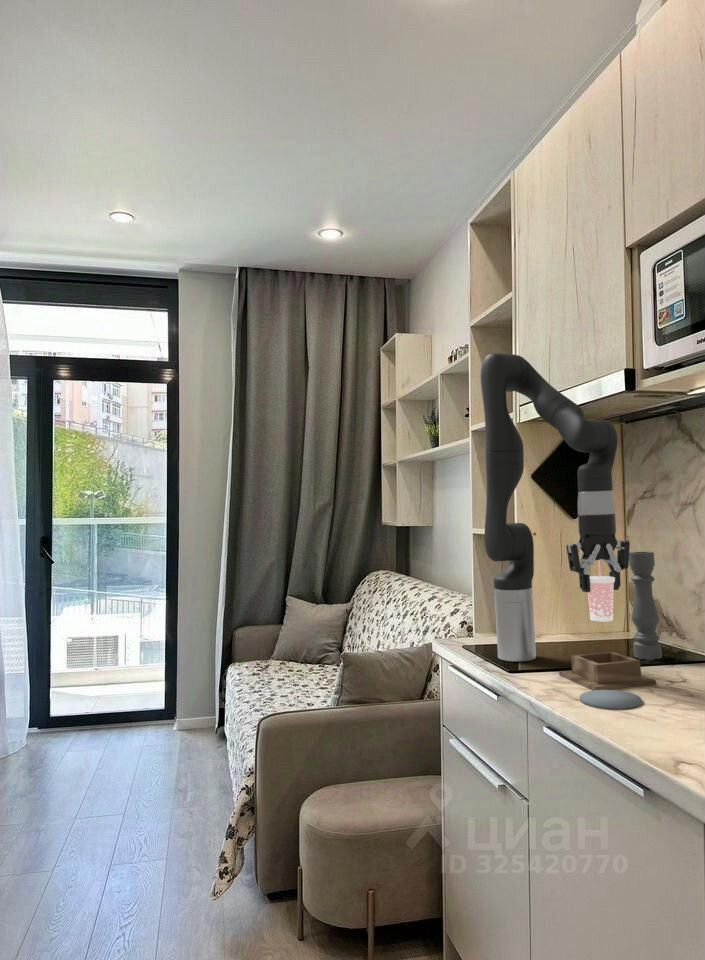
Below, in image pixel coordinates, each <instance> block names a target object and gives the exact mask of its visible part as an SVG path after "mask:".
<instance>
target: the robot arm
mask: <svg viewBox="0 0 705 960" xmlns="http://www.w3.org/2000/svg"><path fill="white" fill-rule="evenodd" d="M480 368H481V369H480V387H481V395H482V402H483V412H484V427H485V471H486V472H485V473H486V505H485V507H486V510H485V524H484V534H483V535H484V536H483V537H484V548H485V552H486V554H487V556H488V558H489V559H490V560H491V561H493V562H508V566H507V567H506V568H505V570H503V571H502V572H500V573H499V574H497V575H496V576H494V578H493V591H494V595H493V596H494V609H495V625H496V626H495V629H496V645H497V646H496V647H497V658H498V659H499V660H502V661H506V662H528V661H533V660H535V659H537V651H536V649H537V648H536V630H535V615H534V614H535V613H534V599H533V597H534V595H533V579H534V573H535V564H534V563H535V560H534V557H535V556H534V555H535V553H534V552H535V550H534V549H535V548H534V547H535V546H534V538H533V537H534V536H533V534H532V531H531V529H530V527H529V526H528V525H527V524H525V523H524V522H523V523H522V522H510V523H507V516H508V515H507V514H508V508H509V503H510V500H511V498H512V496H513V494H514V493H515V490H516V489H517V487H518V484H519V483H520V481H521V478H522V476H523V474H524V469H525V467H524V466H525V460H524V459H525V458H524V457H525V453H524V450H525V448H524V443H523V440H522V437H521V434H520V433H519V431H518V429H517V427H516V425H515V423H514V421H513V420H512V418H511V415H510V412H509V408H508V404H507V403H508V402H507V392H508V393H509V392H515V393H516V392H517V393H518V394H521V395H523V396H524V397H526V398H528V399H529V400H531V402H532V404H533V407H534V410H535V411H536V413H537V414H538V416H540V418H542V420H543V421H545V422H546V423H547V424H549V425H550V426H552V427H553V428H554V429H555V430H557V431H558V433H559V435H560V436H561V438H562V439H563V440H564V441H565V443H566V445H568V447H570V448H571V449H573V450H575V451H577V452H580V453H589V457H588V462H587V463H584V464H582V465H580V466H578V469H577V473H576V475H577V477H576V478H577V491H578V492H577V494H578V495H577V517H578V519H577V520H578V534H579V541H578V542H574V543H567V544H566V546H565V547H566V554H567V560H568V565H569V570H570V571H571V572H575V573H578V577H579V578H578V579H579V588H580V589H581V591H582V592H583V593H588V592H590V576H591V575H590V574H589V573H590V570H591V567H592V566H593V565H594V564H595V561H598V560H600V561H601V560H603V561H604V563H606V565H607V566H608V567H607V568H608V569H609V573H608V574H609V576H610V577H615V582H614V591H619V589H620V587H621V583H622V582H621V572H622V571H623V570H626V569H628V568H629V552H630V545H631V543H630V541H629V540H622V539H621V540H620V539H619V540H618V539H617V538H616V533H617V525H616V506H615V505H616V504H615V503H616V502H615V497H614V491H613V488H614V487H613V486H614V485H613V475H612V474H613V473H612V472H613V467H614V464H615V459H616V454H617V448H618V442H619V439H618V433H617V429H616V428H615V426H614V424H612V423H611V422H610V420H609V421H608V420H606V419H605V420H604V419H587V418H585V417H584V415H585V414H584V411H583V409H582V408H581V407H580V406H579V404H577V403H575V402H574V401H573V400H571V399H570V398H568V397H567V396H565V395H564V394H563V393H561V392H560V391H558V390H557V389H556V388H555V387H553V386H552V385H551V384H550V383H549V382H548V381H547V380H546V379H545V378H544V377H543V376H542V375H541V374H540V373H539V372H538V371H537V370H536V369H535V368H534V367H533V366H532V364H531V363H530V362H529V361H528V360H527V359H525V357H523V356H521V355H518V354H511V353H500V352H494V353H493V352H492V353H489V354H487V356H485V358H484V359H483V360H482V363H481V367H480ZM615 549H616V550H617V555H616V554H615ZM580 550H581V551H582V554H581V557H580V555H579V554H580V552H581V551H580Z"/></svg>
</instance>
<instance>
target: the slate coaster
mask: <svg viewBox="0 0 705 960" xmlns="http://www.w3.org/2000/svg"><path fill="white" fill-rule="evenodd" d="M579 702H581V704H582V703H583V705H586V706H589V707H591V708H596V709H603V710H604V709H605V710H628V709H635V708H637V707H640V706H641V705H642V703H643V701H642V697H641V696H640V695H638V694H635V693H633V692H629V691H624V690H617V689H608V690H589V691H588V690H587V691H584V692H581V694H580V695H579Z"/></svg>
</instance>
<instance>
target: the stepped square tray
mask: <svg viewBox="0 0 705 960" xmlns="http://www.w3.org/2000/svg"><path fill="white" fill-rule="evenodd" d="M570 657H571V661H570V662H571V669H570V670H561V671H558V673H559V676H561V677H563V678H565V679H567V680H569V681H572V682H574V683H576V684H578V685H580V686H582V687H585V688H588V689H589V690H590V691H593V690H617V689H624V688H634V687H643V686H651V685H657V679H655V678H651V677H649V676H646V675H643V674H642V669H641V667H642V666H641V660H640V659H636V658H634V657H630V656H627V655H624V654H621V653H619V652H616V651H615V652H614V651H604V652H603V651H602V652H593V653H583V654H575V655H571V656H570Z"/></svg>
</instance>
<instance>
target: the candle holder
mask: <svg viewBox="0 0 705 960" xmlns="http://www.w3.org/2000/svg"><path fill="white" fill-rule="evenodd" d="M655 566H656V565H655V552H654V551H629V565H628V567H630V570H631V571H632V573H633V576H631V577H630V580H631V581H632V582H633V584H634V600H633V607H632V612H631V620H632V623H633V625H634V626H635V630H637V631H636V632H635V634H634V635H633V639H634V640H635V641H634V642H633V643H632V644H633V646H632V648H633V658H634V657H636V658H639V659H638V660H640V659H646V660H645V661H655V660H654V659H660V658H662V659H663V655H662V652H663V651H662V643H661V642H659V641H660V636H659V635H658V634H657V632H656V630H657V628H656V627H657V626H658V625H659V622H660V616H659V612H658V609H657V605H656V603H655V600H654V596H653V582H654V581H655V577H654V576H653V575H652V573H653V571H654V567H655ZM636 658H635V659H636ZM660 660H661V659H660Z"/></svg>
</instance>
